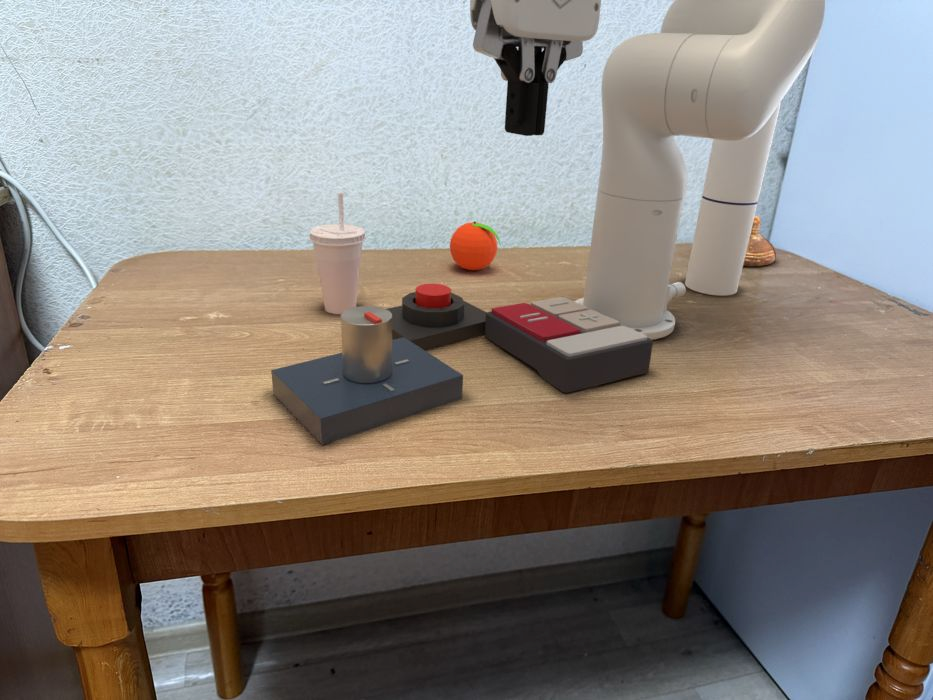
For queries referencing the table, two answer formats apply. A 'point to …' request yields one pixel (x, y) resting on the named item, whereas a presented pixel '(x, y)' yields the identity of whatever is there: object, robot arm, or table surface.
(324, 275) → the smoothie
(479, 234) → the clementine
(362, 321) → the knob
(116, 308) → the table surface
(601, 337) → the calculator
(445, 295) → the button
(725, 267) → the cylindrical container
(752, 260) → the bell
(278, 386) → the panel
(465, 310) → the button block
